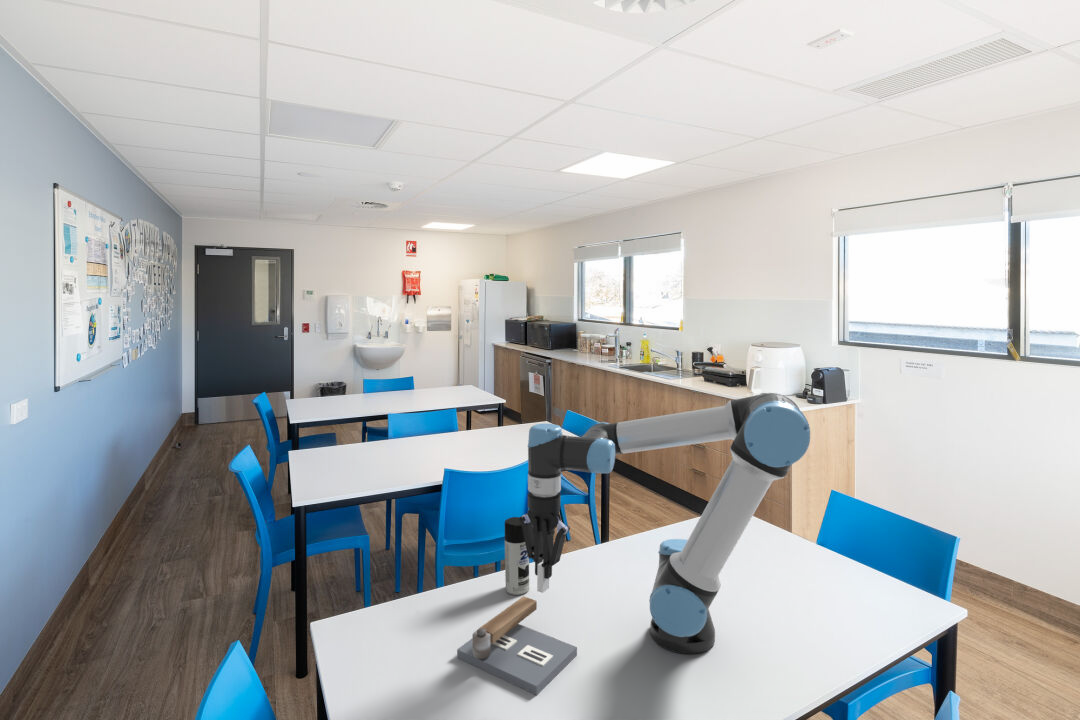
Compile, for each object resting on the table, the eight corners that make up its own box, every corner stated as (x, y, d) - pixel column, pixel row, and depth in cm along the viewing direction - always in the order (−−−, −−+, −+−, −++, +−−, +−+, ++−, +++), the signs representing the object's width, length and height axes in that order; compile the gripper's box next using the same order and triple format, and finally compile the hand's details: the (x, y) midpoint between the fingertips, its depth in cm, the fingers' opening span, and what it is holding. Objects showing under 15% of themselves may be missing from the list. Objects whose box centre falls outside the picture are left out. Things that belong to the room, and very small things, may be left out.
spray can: (520, 598, 155) (520, 527, 153) (500, 591, 159) (499, 522, 157) (533, 587, 161) (533, 519, 159) (514, 581, 164) (513, 514, 162)
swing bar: (536, 618, 141) (536, 597, 141) (482, 661, 125) (482, 638, 124) (523, 613, 144) (523, 592, 143) (468, 654, 127) (468, 632, 126)
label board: (576, 655, 130) (576, 645, 130) (536, 695, 117) (536, 684, 117) (501, 624, 143) (501, 615, 143) (457, 657, 130) (457, 647, 129)
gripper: (511, 490, 131) (511, 587, 134) (559, 502, 124) (557, 605, 127) (530, 482, 138) (529, 575, 140) (577, 493, 130) (575, 591, 133)
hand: (543, 589), depth 133 cm, fingers closed
